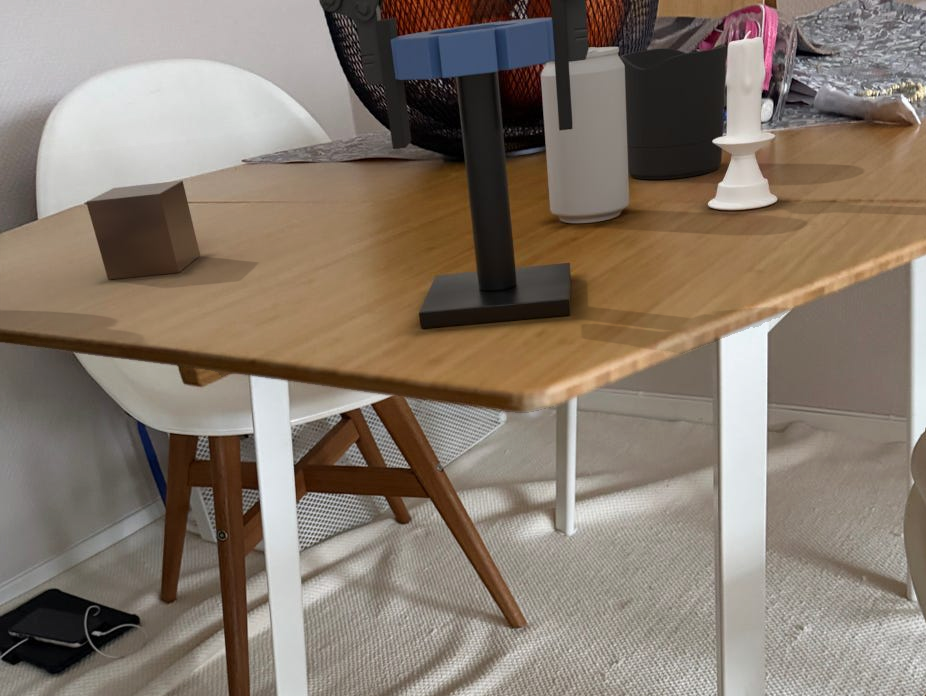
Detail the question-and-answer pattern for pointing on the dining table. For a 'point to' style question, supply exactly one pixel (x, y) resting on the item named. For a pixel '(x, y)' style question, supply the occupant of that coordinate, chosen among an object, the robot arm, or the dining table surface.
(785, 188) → the dining table surface
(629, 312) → the dining table surface
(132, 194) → the brown matte cube
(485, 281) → the post stand
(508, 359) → the dining table surface
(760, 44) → the candle
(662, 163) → the pen holder
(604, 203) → the beverage can
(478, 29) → the ring
